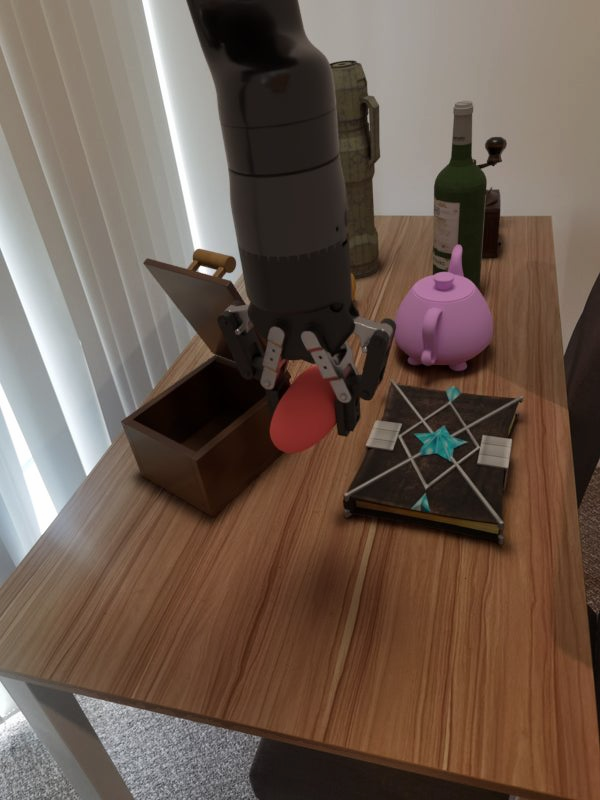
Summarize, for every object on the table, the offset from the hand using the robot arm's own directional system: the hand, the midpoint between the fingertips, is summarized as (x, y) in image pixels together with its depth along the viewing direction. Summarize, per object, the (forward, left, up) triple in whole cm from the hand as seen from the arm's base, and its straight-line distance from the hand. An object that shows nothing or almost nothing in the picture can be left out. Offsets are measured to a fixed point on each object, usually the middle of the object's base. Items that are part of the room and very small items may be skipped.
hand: (315, 423), depth 50 cm
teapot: (+41, -8, -19) cm, 46 cm away
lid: (+18, +16, -2) cm, 24 cm away
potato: (+50, +11, -19) cm, 55 cm away
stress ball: (0, 0, -1) cm, 1 cm away
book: (+16, -9, -19) cm, 27 cm away
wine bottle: (+59, -9, -19) cm, 63 cm away
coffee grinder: (+80, -11, -19) cm, 83 cm away
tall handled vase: (+68, +10, -19) cm, 71 cm away
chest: (+14, +18, -19) cm, 29 cm away
